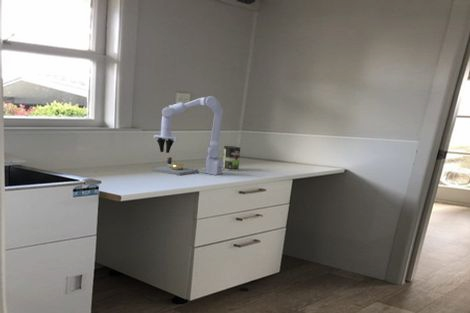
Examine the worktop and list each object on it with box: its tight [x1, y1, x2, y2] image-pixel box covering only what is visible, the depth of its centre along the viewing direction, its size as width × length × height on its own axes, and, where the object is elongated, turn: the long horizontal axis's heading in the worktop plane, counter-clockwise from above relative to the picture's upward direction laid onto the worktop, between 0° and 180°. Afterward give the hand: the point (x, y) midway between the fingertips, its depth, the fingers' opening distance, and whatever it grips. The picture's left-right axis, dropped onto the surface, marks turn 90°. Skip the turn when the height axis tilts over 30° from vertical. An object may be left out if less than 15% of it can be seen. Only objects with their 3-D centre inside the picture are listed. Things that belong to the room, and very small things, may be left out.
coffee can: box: [222, 145, 241, 172], centre depth 286 cm, size 10×10×14 cm
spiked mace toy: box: [166, 156, 184, 170], centre depth 262 cm, size 12×6×5 cm, turn 43°
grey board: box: [152, 165, 199, 176], centre depth 261 cm, size 19×18×2 cm
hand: (164, 152), depth 261 cm, fingers open, 3 cm apart
